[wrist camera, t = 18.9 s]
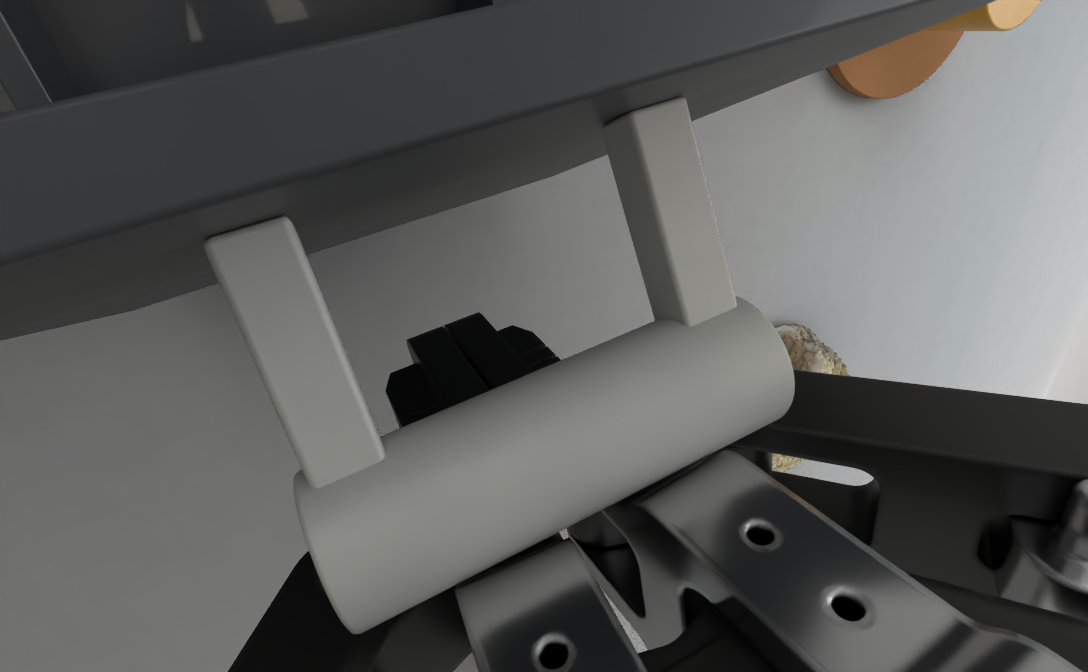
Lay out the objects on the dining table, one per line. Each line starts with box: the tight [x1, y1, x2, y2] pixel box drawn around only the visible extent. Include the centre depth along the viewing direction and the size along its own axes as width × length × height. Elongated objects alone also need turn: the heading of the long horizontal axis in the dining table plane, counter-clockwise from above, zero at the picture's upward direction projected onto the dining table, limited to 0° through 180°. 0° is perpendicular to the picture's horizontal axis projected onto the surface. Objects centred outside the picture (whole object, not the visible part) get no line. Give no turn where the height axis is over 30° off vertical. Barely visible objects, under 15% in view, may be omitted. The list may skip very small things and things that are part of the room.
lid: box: [0, 0, 996, 634], centre depth 12 cm, size 16×14×4 cm
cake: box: [772, 324, 849, 472], centre depth 37 cm, size 10×10×5 cm
